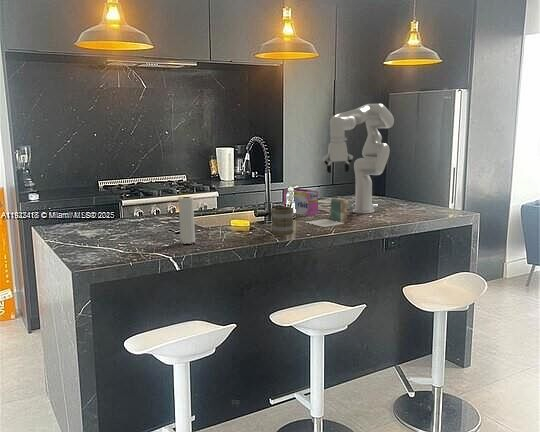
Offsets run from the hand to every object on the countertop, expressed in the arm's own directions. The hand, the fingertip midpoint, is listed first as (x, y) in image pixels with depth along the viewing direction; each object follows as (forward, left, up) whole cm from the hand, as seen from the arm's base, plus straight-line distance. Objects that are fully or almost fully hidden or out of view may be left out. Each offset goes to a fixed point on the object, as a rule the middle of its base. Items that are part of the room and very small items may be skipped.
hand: (337, 172), depth 291 cm
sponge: (+3, +4, -26) cm, 26 cm away
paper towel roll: (+91, +1, -26) cm, 95 cm away
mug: (+43, +7, -26) cm, 51 cm away
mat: (+13, +4, -26) cm, 29 cm away
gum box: (+3, -30, -26) cm, 40 cm away
